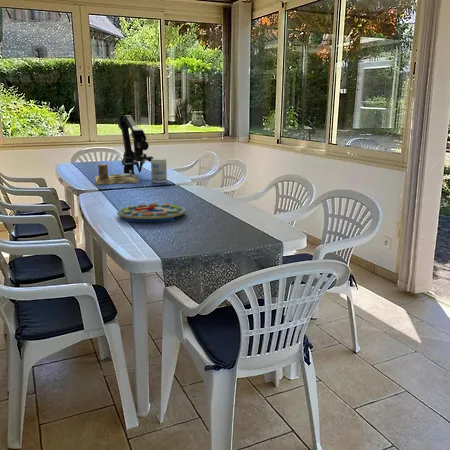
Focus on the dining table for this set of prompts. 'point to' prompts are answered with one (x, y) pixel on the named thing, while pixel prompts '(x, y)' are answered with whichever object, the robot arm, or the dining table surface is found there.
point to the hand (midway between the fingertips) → (139, 172)
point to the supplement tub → (158, 170)
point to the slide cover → (127, 174)
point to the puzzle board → (117, 179)
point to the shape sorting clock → (151, 212)
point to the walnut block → (103, 171)
